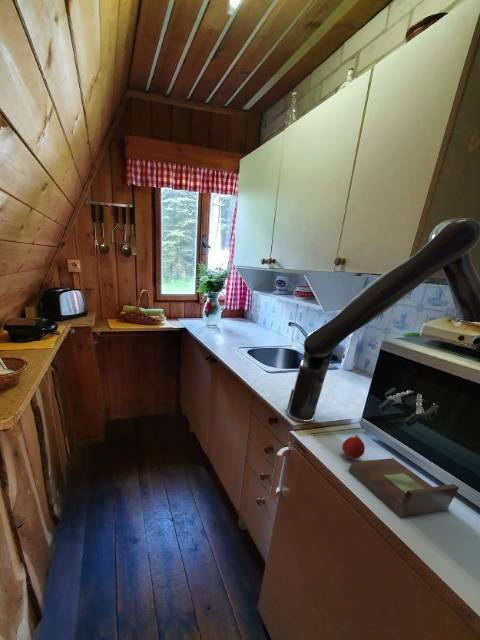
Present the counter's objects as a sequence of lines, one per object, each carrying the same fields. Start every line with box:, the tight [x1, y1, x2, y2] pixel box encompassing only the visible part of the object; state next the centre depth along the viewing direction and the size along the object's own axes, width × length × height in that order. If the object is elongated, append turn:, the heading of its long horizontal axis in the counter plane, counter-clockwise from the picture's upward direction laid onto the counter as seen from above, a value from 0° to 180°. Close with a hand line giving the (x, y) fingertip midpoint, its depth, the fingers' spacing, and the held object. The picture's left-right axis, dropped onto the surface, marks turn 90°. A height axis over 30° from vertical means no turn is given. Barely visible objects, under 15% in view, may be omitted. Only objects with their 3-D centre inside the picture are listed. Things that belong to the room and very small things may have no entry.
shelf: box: [348, 457, 460, 518], centre depth 79 cm, size 17×15×7 cm
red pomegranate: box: [342, 434, 366, 460], centre depth 90 cm, size 6×6×8 cm
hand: (392, 417), depth 90 cm, fingers open, 8 cm apart
